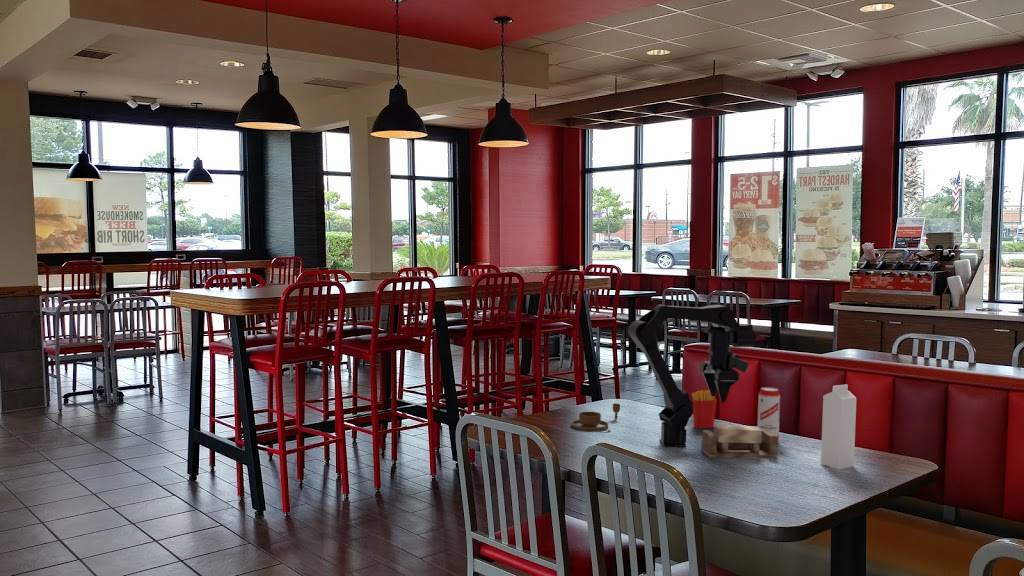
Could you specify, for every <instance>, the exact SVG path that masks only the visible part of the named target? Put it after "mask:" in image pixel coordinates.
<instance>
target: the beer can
mask: <svg viewBox="0 0 1024 576" xmlns="http://www.w3.org/2000/svg"><path fill="white" fill-rule="evenodd" d="M757 403H758V404H757V425H756V426H757V427H758V428H759V429H761V430H768V431H769V432H771V433H772V434H774V435H775V436H776V443H777V442H779V438H780V413H781V411H780V409H781V394H780V392H779V389H778V388H776V387H765V386H764V387H761V388H760V390H759V392H758V402H757Z"/></svg>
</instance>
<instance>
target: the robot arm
mask: <svg viewBox="0 0 1024 576" xmlns="http://www.w3.org/2000/svg"><path fill="white" fill-rule="evenodd" d="M734 316H735V315H734V311H733V310H732V308H731V307H730V306H725V305H722V304H721V305H720V304H712V305H705V306H699V307H697V306H696V307H695V306H678V305H664V304H662V303H661V304H660V303H659V304H657V305H655V307H654V308H652V309H651V310H650V311H648V312H647V313H645V314H643V315H641V316H640V318H638V320H634V321H632V322H631V323H630V324H629V326H628V329H627V333H628V336H629V337H630V338H631V340H632V341H633V343H635V345H636V346H637V347H638V348H639V349H640V350H641V351H642V353H643V355H644V357H645V358H646V360H647V362H648V364H649V367H650V369H651V370H652V373H653V374H654V377H655V378H656V380H657V383H658V384H659V386H660V389H661V390H662V392H663V402H664V405H665V407H664V408H663V409H662V410H661V411H660V412H659V414H658V417H659V420H660V421H661V426H660V427H661V428H660V429H661V430H660V431H661V432H660V434H661V435H660V439H659V442H660V444H662V445H663V447H687V444H686V443H687V428H686V427H687V425H688V423H689V420H690V418H691V417H693V405H694V403H693V401H692V399H691V397H690V394H689V393H688V392H687V391H685V390H683V389H680V388H679V387H678V384H677V383H676V381H675V380H674V378H673V375H672V374H671V371H670V369H669V367H668V365H667V363H666V362H665V359H664V358H663V357H664V356H663V355H662V353H661V351H660V350H659V347H658V337H657V334H656V333H657V332H658V330H660V329H661V327H662V326H663V324H665V321H667V320H669V319H671V320H689V321H703V322H707V323H709V324H708V325H707V326H706V327H704V328H703V332H704V333H709V335H710V336H709V349H707V354H709V360H708V361H707V360H705V361H702V362H701V363H700V365H699V371H701V375H702V377H703V378H704V382H705V384H706V386H707V388H708V389H707V390H709V391H710V394H711V396H715V397H716V394H717V392H718V395H719V396H718V397H719V400H720V402H721V403H723V404H725V403H726V402H727V399H728V395H729V393H730V389H731V387H732V385H734V384H735V383H737V382H738V381H740V373H739V371H741V372H742V373H745V374H746V372H747V370H748V368H749V364H750V362H748V361H746V360H744V359H743V360H742V359H741V355H738V354H736V353H733V352H732V351H730V350H731V349H730V348H731V346H732V348H753V347H755V345H756V342H757V336H756V332H755V330H754V329H753V328H754V326H753V324H749V323H747V324H740V323H738V321H737V319H736V318H735V317H734ZM710 323H711V324H710ZM713 324H715V325H720V326H714V325H713ZM725 328H728V329H725ZM730 345H731V346H730Z"/></svg>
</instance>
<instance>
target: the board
mask: <svg viewBox="0 0 1024 576" xmlns="http://www.w3.org/2000/svg"><path fill="white" fill-rule="evenodd" d="M757 426H758V425H756V426H755V425H754V426H753V425H714V433H713V434H714V435H716V436H717V441H718V442H725V443H761V442H762V430H761V429H759V428H758V427H757Z"/></svg>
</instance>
